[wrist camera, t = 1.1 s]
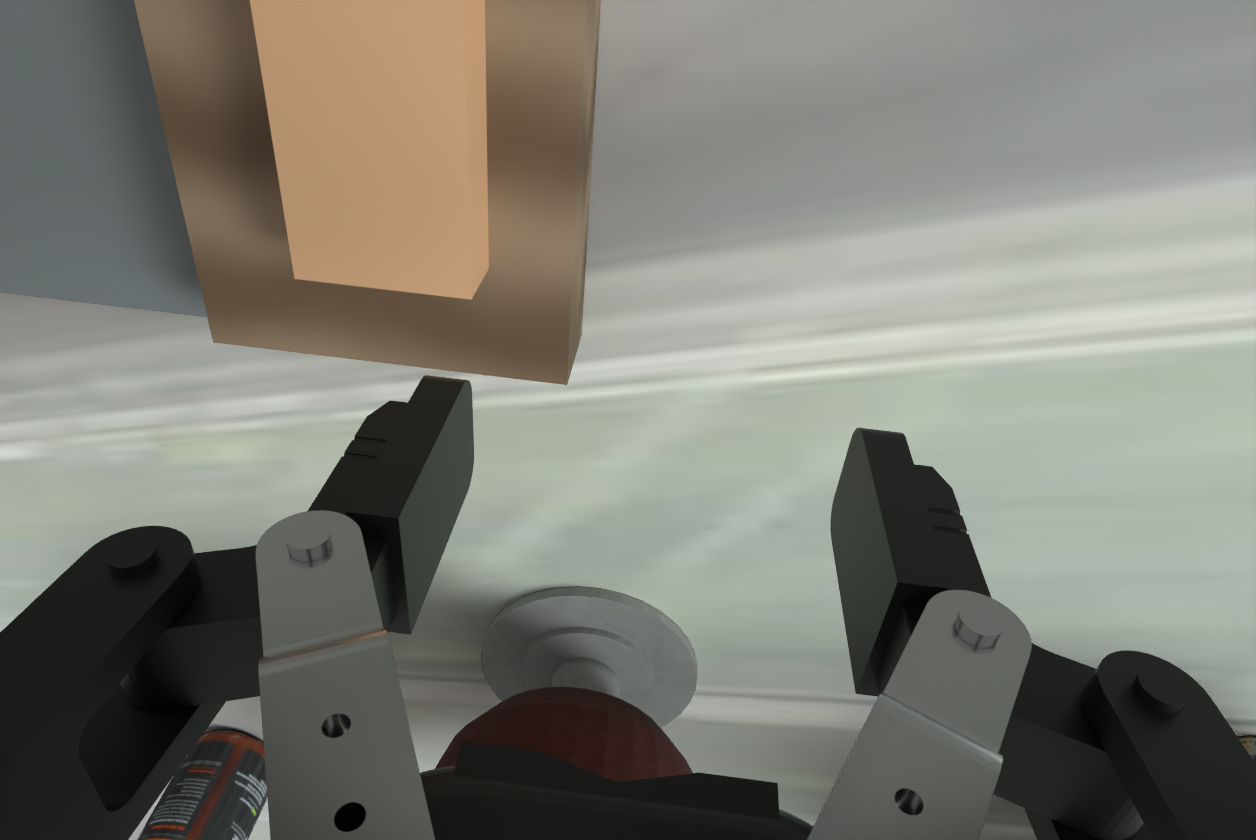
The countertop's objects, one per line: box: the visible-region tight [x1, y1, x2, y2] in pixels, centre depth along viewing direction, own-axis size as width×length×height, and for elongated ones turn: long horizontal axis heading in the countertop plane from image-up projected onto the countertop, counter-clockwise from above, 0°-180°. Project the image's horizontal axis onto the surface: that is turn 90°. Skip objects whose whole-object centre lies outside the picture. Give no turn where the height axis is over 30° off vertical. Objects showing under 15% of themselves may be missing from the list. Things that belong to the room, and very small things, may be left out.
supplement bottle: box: [137, 730, 268, 840], centre depth 51 cm, size 6×6×11 cm
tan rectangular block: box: [250, 0, 489, 300], centre depth 26 cm, size 9×6×2 cm, turn 175°
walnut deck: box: [134, 0, 600, 385], centre depth 29 cm, size 18×14×4 cm
